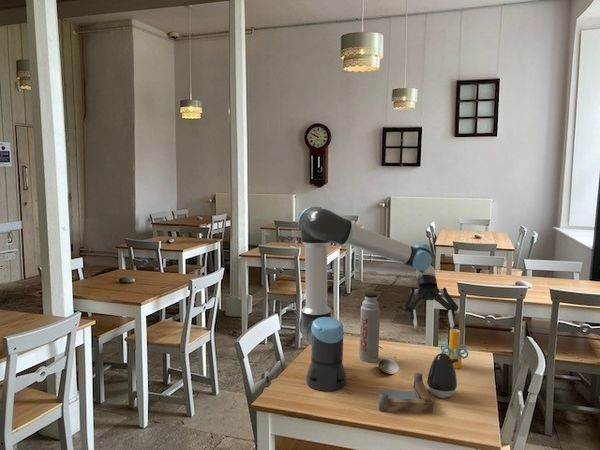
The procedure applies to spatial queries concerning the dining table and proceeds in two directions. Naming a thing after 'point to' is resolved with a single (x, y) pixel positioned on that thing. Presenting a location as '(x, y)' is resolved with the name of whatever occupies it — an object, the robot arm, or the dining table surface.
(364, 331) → the thermos bottle
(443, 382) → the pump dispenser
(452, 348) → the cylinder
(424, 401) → the wooden corner bracket
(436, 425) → the dining table surface
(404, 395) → the pad
